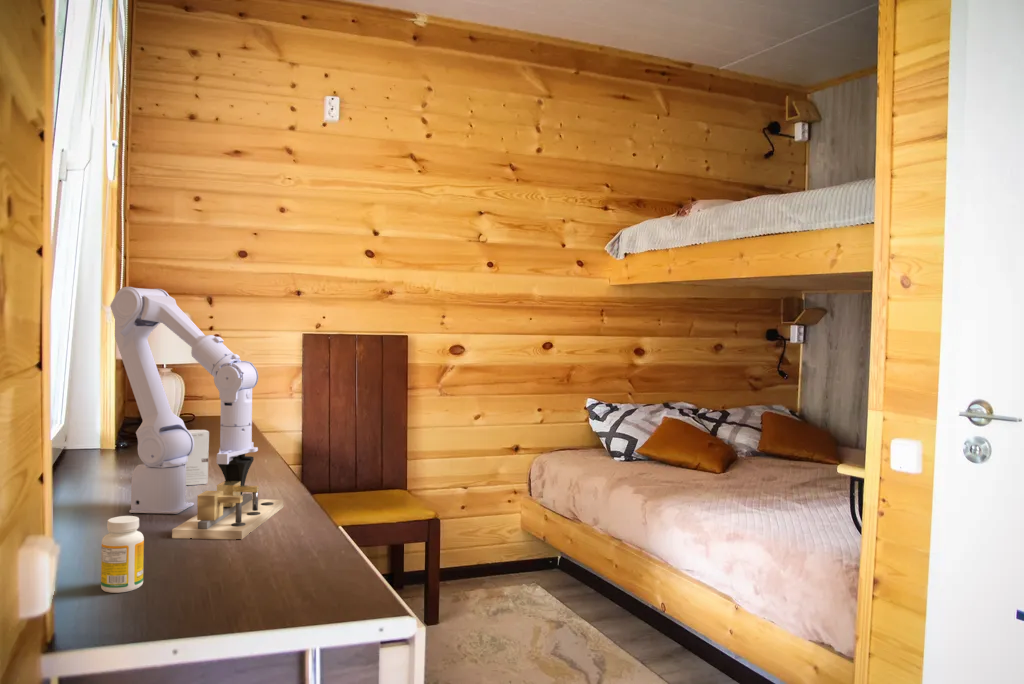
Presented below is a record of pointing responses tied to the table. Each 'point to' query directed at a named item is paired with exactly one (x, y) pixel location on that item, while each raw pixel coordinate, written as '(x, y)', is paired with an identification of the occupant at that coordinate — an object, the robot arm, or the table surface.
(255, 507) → the tan block with post
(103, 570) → the supplement bottle
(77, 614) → the table surface
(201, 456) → the skincare box
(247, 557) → the table surface
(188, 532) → the board
